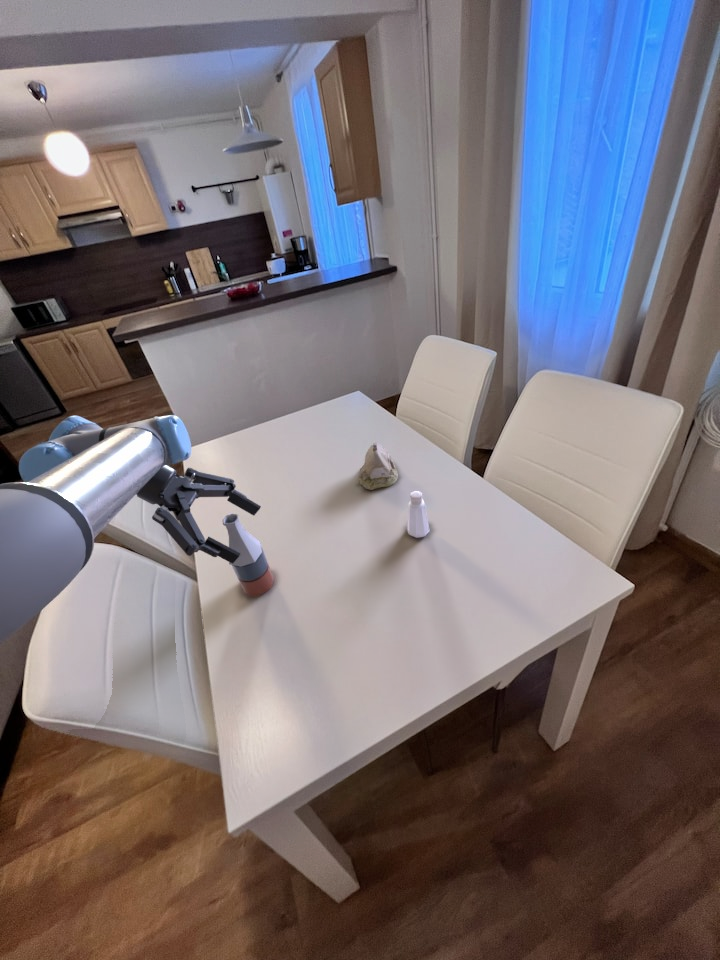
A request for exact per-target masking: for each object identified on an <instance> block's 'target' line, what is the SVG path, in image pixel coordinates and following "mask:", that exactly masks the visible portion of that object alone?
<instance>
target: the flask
mask: <svg viewBox="0 0 720 960" xmlns="http://www.w3.org/2000/svg"><path fill="white" fill-rule="evenodd" d="M222 525H223V526H225V529H226V530H227V535H228V547H230V548H232V549H233V550H235V551H237V552H239V553H240V556H239V557H238V558H237V560H236V561H235V562H234V563H233V564H232V563H230V562H228V564H229V565H231V566H232V565H235V566H240V567H242V566H245V565H248V564H251V563H254V562H255V561H256V560H257V559H258V557H259V556H260V554H261V553H262V549H263V547H262V542H261V541H259V540H258V539H257V538H255V537H254V536H253V535H252V534H251V533H250V532H249V531H247V529H245V528H244V527H243V525H242V523H241V522H240V518H239V514H237V513H231V514H227V515H225V516H224V517H223V519H222ZM261 547H262V548H261Z"/></svg>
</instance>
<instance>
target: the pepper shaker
mask: <svg viewBox="0 0 720 960" xmlns="http://www.w3.org/2000/svg"><path fill="white" fill-rule="evenodd" d="M409 498H410V499H409V500H410V501H409V502H408V506H407V526H406V530H407V533H408V535H409V536H411V537H414V538H416V539H418V538H424V537H426V536H427V535H428V534H429V532H431V531H430V525H429V519H428V514H427V508H426V504H425V501H424V499H423V492H421V491H419V490H414V491H411V492H410V494H409Z"/></svg>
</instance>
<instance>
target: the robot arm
mask: <svg viewBox="0 0 720 960" xmlns="http://www.w3.org/2000/svg"><path fill="white" fill-rule="evenodd" d="M189 435H190V434H189V433H188V429H187V427H186V425H185V423H184V421H183V420H182V419H181V418H180V417H179V416H177V415H174V414H170V415H168V414H167V415H163V416H153V417H151V418H147V419H143V420H138V421H135V422H130V423H124V424H121V425H117V426H116V425H115V426H113V427H105V428H102V427H101V426H100V425H99V424H97V423H95V422H93V421H90V420H88V419H86V418H84V417H82V416H79V415H70V416H68V417H66V418H65V419H64V420H62V421H60V423H59V424H58V425H57V426H56V427H55V428H54V429H53V430H52V432H51V434H50V436H49V438H48V441H45V442H44V441H42V442H39V443H37V444H36V445H35V446H33V447H31V448H29V449H27V450H26V451H25V452H24V453H23V454H22V455H21V457H20V459H19V462H18V472H19V475H20V477H21V480H23V481H15V482H5V483H1V484H0V644H2V643H3V642H5V641H6V640H7V639H8V638H9V637H11V636H12V635H14V634H15V633H16V632H17V631H19V630H20V629H21V628H23V627H24V626H25V625H26V624H27V623H28V622H30V621H31V620H32V619H33V618H35V617H36V616H37V615H38V614H39V613H40V612H41V611H43V610H44V609H45V608H46V607H47V606H48V605H49V604H50V603H52V601H54V600H55V599H56V598H57V597H58V596H59V595H60V594H61V593H62V592H63V591H64V590H65V589H66V588H67V587H68V586H69V585H70V584H71V583H72V582H73V580H74V579H75V578H76V577H77V576H78V575H79V573H80V572H81V571H82V570H83V569H84V568H85V567H86V565H88V563H89V561H90V559H91V557H92V555H93V552H94V549H95V548H94V547H95V538H96V537H97V536H98V535H99V534H100V533H101V532H102V531H103V530H104V529H105V528H106V527H107V525H108V524H110V522H111V521H112V520H113V519H114V518H115V517H116V516H117V515H118V514H119V513H120V512H121V511H122V510H123V508H125V507H126V505H127V504H129V502H130V501H132V499H133V498H134V497H135V496H136V497H137V498H139V499H141V500H143V501H144V502H146V503H148V504H150V505H157V506H158V507H157V508H156V509H155V511H154V513H153V515H152V516H151V519H152V520H153V521H154V522H155V523H157V524H159V525H160V526H162V527H163V529H164V530H165V531H166V532H167V533H168V535H169V536H170V537H171V538H172V539H173V540H174V541H175V543H176V544H177V545H178V546H179V548H181V550H182V551H183V552H184V553H185V554H186V555H187V556H188V557H191V556H193V555H194V554H195V553H198V552H199V551H201V552H203V553H205V554H207V555H209V556H211V557H212V558H218V557H219V558H221V559H223V560H225V561H226V562H228V563H229V562H230V563H232V564H233V563H234V562H235V561H236V560H237V558H238V557H239V556H240V553H239V552H237V551H235V550H233V549H232V548H230V547H229V545H226V544H225V543H222V542H220V541H219V540H216V539H215V538H213V537H211V536H207V538H205V536H204V534H203V532H202V531H201V529H200V527H199V525H198V523H197V521H196V519H195V518H194V515H193V514H192V511H191V507H192V505H193V504H194V502H195V501H196V499H199V498H227V500H226V501H227V502H229V503H231V504H232V505H234V506H236V507H237V508H239V509H241V510H243V511H245V512H246V513H248V514H250V515H251V516H253V517H254V516H256V514H257V513H258V512H259V511H260V510H261V507H262V506H261V505H259V504H258V503H256V502H254V501H253V500H251V499H250V498H248V497H247V496H246V495H245V494H244V493H241V492H240V491H238V490H237V489H236V487H237V486H236V484H235V480H234V479H233V478H228V477H224V476H219V475H215V474H211V473H206V472H203V471H202V472H201V471H198V470H197V469H194V468H192V467H187V468H186V470H185V471H184V473H183V474H182V476H181V475H178V473H177V470H176V469H174V468H172V467H171V466H170V465H172V466H173V465H175V464H178V463H181V462H184V461H187V460H188V459H189V458H190V457H191V454H192V443H191V438H190V436H189ZM170 512H172V513H173V514H171V513H170ZM173 515H174V516H173Z"/></svg>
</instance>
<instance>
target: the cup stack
mask: <svg viewBox="0 0 720 960" xmlns="http://www.w3.org/2000/svg"><path fill="white" fill-rule="evenodd" d="M261 548H262V553H261V554H260V556H259V557H258V559H257V560H256V561H255V562H254V563H251V564H248V565H245V566H242V567H240V566H235V565H231V567H232V569H233V572H234V574H235V576H236V578H237V580H238V582H239V584H240V587H241V589H242V590H243V593H244V594H245V595H246V596H249V597H260V596H262V595H264V594H266V593H267V592H268V591H270V589H271V588H273V586H274V583H275V577H274V575H273V571H272V570H271V566H270V564H269V562H268V559H267V557H266V554H265V551H264V549H263V547H262V546H261Z"/></svg>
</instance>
